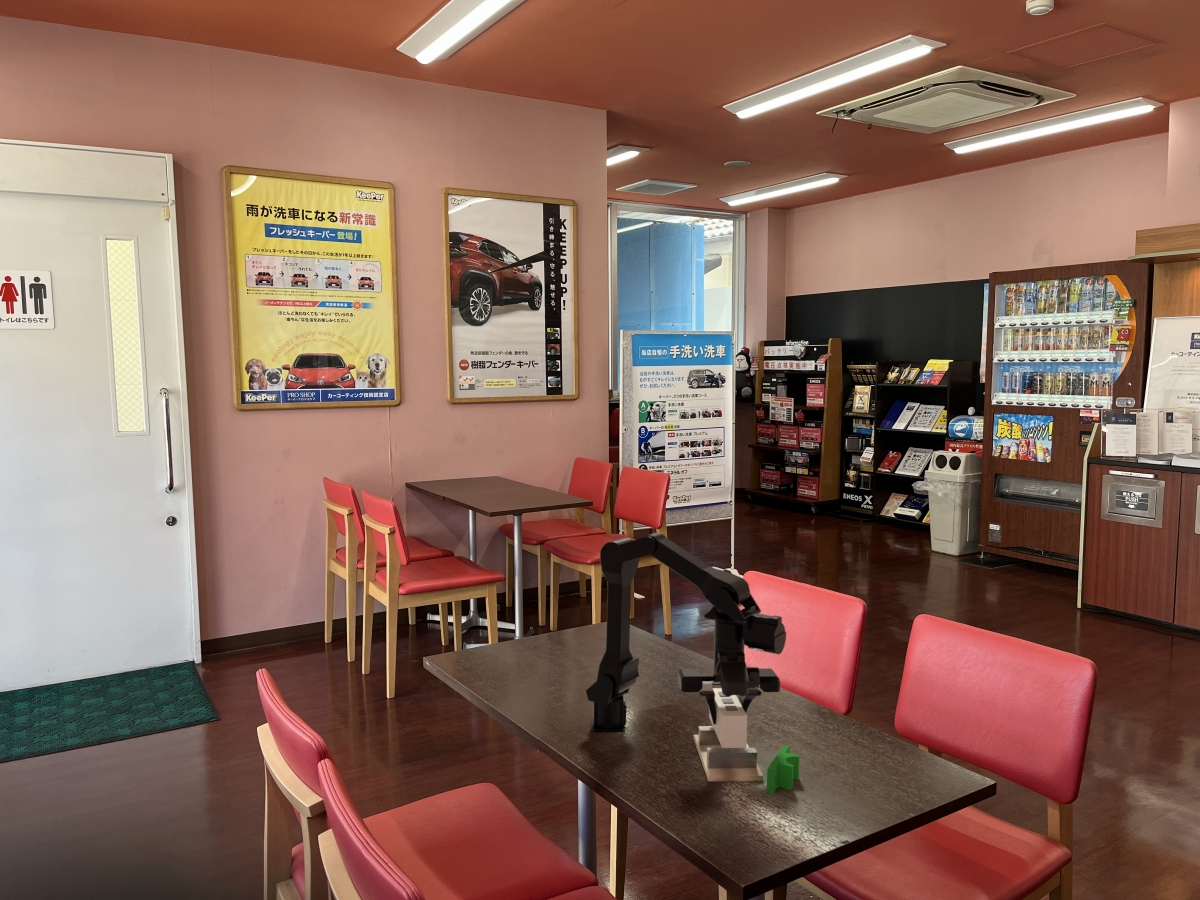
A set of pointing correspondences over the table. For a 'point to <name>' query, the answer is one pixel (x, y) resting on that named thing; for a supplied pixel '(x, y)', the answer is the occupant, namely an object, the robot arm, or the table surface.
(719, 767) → the stand
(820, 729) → the table surface
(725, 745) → the power strip
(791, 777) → the pipe clamp
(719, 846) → the table surface
